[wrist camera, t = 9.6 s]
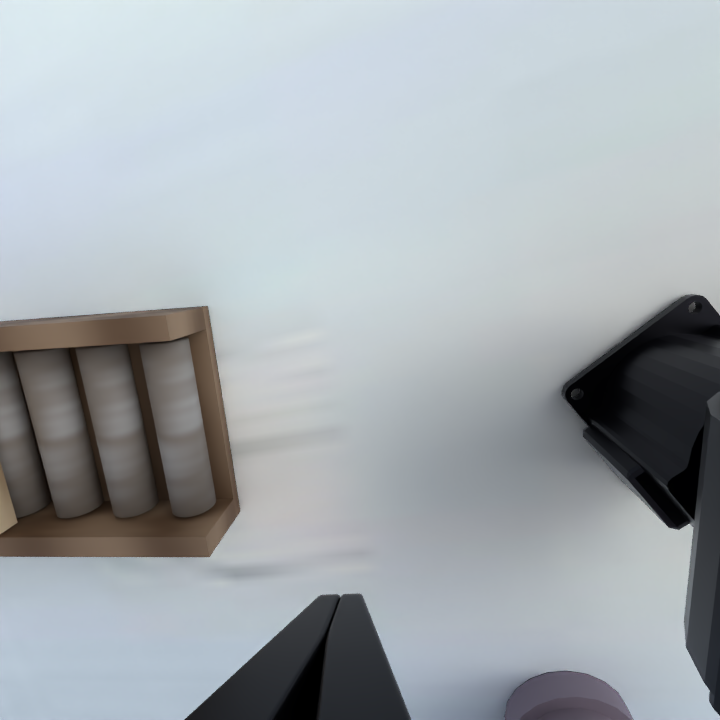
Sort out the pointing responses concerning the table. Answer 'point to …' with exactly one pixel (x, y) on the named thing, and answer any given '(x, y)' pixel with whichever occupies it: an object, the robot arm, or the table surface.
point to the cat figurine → (566, 699)
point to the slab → (5, 505)
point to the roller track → (160, 517)
